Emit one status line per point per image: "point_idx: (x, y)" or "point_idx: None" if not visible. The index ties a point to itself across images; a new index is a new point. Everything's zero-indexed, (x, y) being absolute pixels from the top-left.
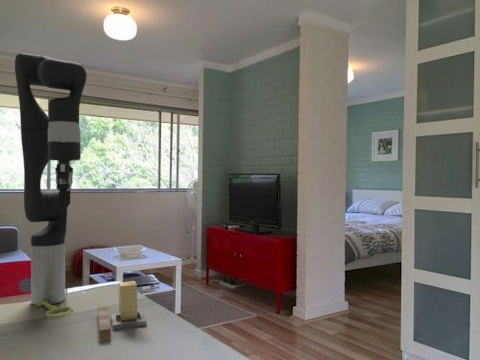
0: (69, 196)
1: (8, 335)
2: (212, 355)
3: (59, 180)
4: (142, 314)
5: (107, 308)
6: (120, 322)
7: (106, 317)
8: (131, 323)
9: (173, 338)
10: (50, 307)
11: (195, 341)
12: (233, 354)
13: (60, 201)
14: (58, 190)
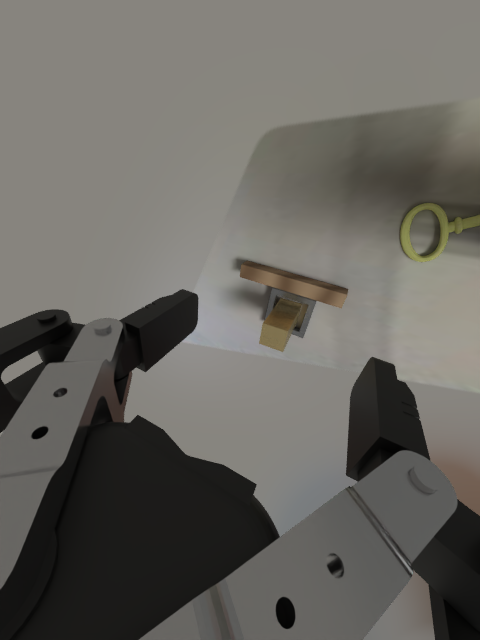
0: (349, 429)
1: (355, 124)
2: None
3: (5, 356)
4: None
5: (324, 302)
6: (282, 300)
7: (283, 286)
8: (267, 308)
9: (219, 323)
10: (468, 219)
11: (206, 333)
12: None
13: (154, 302)
14: (102, 321)
